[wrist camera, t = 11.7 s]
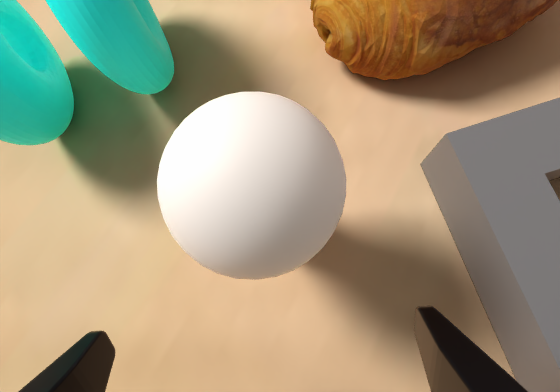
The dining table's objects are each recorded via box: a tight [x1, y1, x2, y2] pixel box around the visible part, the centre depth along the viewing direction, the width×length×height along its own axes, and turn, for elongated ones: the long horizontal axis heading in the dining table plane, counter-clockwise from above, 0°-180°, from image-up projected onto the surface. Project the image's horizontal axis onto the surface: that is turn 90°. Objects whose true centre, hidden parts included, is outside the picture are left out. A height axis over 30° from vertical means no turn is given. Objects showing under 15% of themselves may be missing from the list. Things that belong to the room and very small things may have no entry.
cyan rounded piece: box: [0, 0, 174, 145], centre depth 18 cm, size 10×10×10 cm
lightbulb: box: [157, 92, 346, 279], centre depth 14 cm, size 6×6×11 cm
